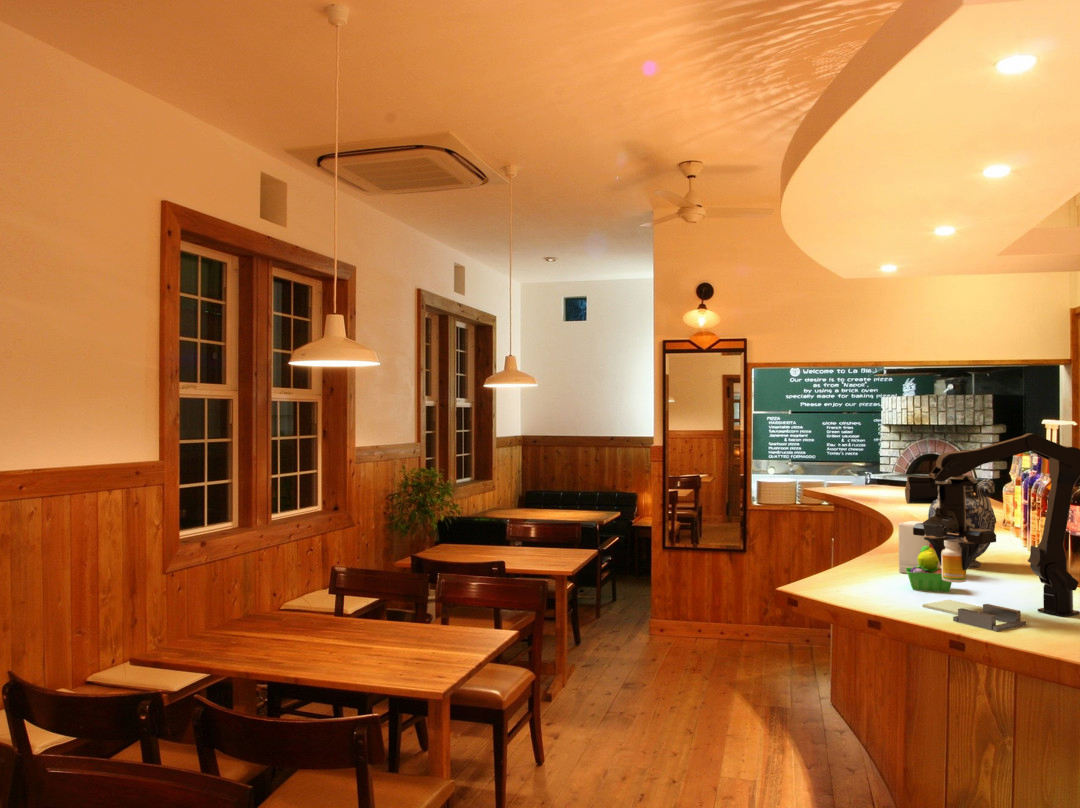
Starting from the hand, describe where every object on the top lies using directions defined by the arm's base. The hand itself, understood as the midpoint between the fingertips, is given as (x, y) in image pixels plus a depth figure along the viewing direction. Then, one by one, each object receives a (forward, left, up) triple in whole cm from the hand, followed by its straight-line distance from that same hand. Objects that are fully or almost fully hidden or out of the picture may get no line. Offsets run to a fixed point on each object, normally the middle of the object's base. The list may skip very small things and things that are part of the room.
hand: (953, 568), depth 199 cm
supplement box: (-32, -34, -10) cm, 48 cm away
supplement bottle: (0, 0, -3) cm, 3 cm away
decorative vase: (-54, -36, -10) cm, 66 cm away
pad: (0, 0, -10) cm, 10 cm away
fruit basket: (-15, -18, -10) cm, 26 cm away
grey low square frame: (+6, +13, -10) cm, 17 cm away
